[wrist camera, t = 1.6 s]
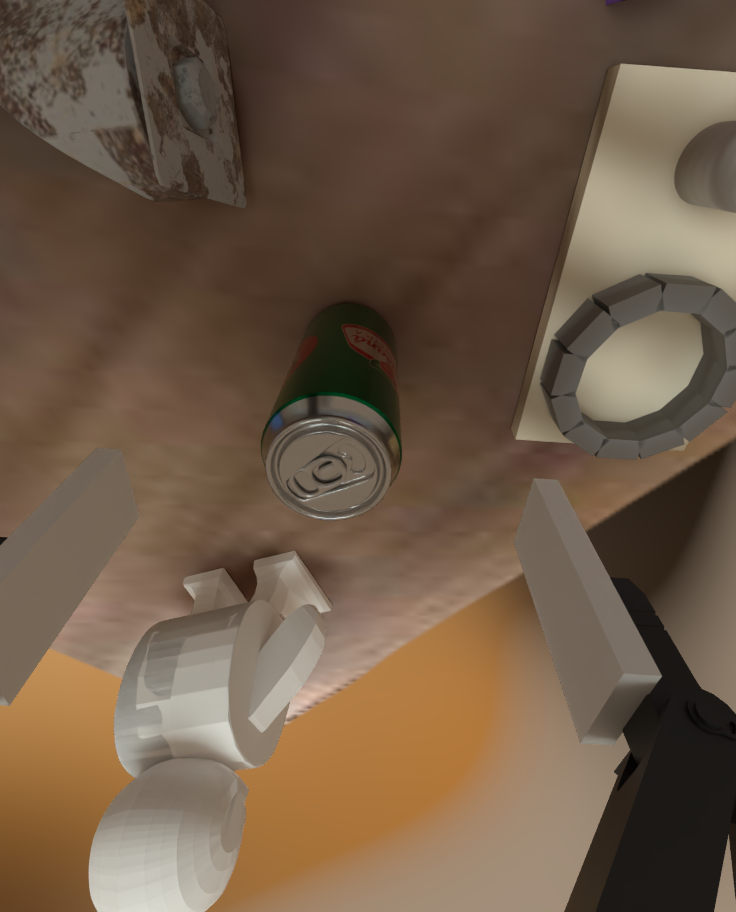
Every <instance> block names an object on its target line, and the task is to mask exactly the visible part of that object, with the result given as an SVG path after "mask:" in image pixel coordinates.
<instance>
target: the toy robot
mask: <svg viewBox="0 0 736 912" xmlns="http://www.w3.org/2000/svg"><path fill="white" fill-rule="evenodd" d="M253 570H254V572H255V574H256V577H257V587H256V590H255V594H254V596H253V597H252V599H251V600H250V601H249V602H248V601H247V600H246V599H245V597H244V596H243V594H242V593H241V591H240V590H239V589H238V587H237V586H236V584H235V583H234V582H233V580H232V579H231V577H230V576H229V574H228V573H227V572H226V570H225V569H224V568H220V569H216V570H212V571H208V572H204V573H199V574H195V575H191V576H187V577H185V579H184V581H183V586H184V587H185V588H186V590H187V591H188V592H189V594H190V595H191V596H192V598H193V599H194V600H195V601H194V606H193V608H192V611H191V614H190V615H188V616H183V617H179V618H174V619H170V620H165V621H161V622H159V623H157V624H155V625H153V626H152V627H151V628H150V629H149V630H148V631H147V632H146V633H145V634H144V636H143V637H142V639H141V640H140V642H139V643H138V645H137V647H136V648H135V650H134V652H133V655H132V657H131V659H130V661H129V663H128V666H127V668H126V671H125V674H124V677H123V680H122V683H121V686H120V690H119V694H118V699H117V704H116V709H115V717H114V735H115V746H116V751H117V754H118V757H119V760H120V762H121V764H122V765H123V767H124V768H125V770H126V771H127V772H128V773H129V774H130V775H132V776H133V777H135V778H136V779H134V780H133V781H132V782H131V783H129V784H128V785H127V786H126V787H125V788H124V789H123V790H122V791H121V792H120V793H119V794H118V795H117V796H116V797H115V799H114V800H113V801H112V802H111V804H110V805H109V807H108V808H107V810H106V812H105V814H104V815H103V817H102V819H101V821H100V823H99V825H98V828H97V830H96V833H95V836H94V839H93V843H92V848H91V853H90V861H89V887H90V894H91V898H92V901H93V903H94V906H95V908H96V909H97V911H98V912H204V911H206V910H207V909H208V908H209V907H210V906H211V905H212V904H214V902H216V900H217V899H218V898H219V897H220V896H221V894H222V893H223V891H224V889H225V887H226V885H227V883H228V881H229V879H230V876H231V874H232V872H233V869H234V867H235V863H236V860H237V857H238V853H239V849H240V845H241V840H242V832H243V827H244V824H245V820H246V808H245V800H246V797H247V794H248V791H249V789H248V787H247V786H246V785H245V783H244V782H243V781H242V780H241V778H240V777H239V776H238V775H237V774H236V773H235V772H234V771H236V770H243V769H250V768H257V767H260V766H262V765H264V764H265V763H266V762H267V761H268V760H269V758H270V757H271V756H272V754H273V752H274V750H275V748H276V746H277V743H278V741H279V738H280V735H281V732H282V729H283V726H284V722H285V718H286V715H287V711H288V708H289V704H290V700H291V699H292V698H293V697H294V696H295V695H296V693H297V692H298V691H299V690H300V689H301V687H302V686H303V685H304V683H305V682H306V680H307V678H308V677H309V675H310V673H311V672H312V670H313V669H314V667H315V665H316V663H317V661H318V659H319V657H320V655H321V653H322V650H323V647H324V644H325V641H326V626H325V621H324V619H323V617H322V616H321V614H320V613H322V612H327V611H331V609H332V604H331V603H330V601H329V600H328V598H327V597H326V595H325V594H324V592H323V591H322V589H321V588H320V586H319V585H318V584H317V582H316V581H315V579H314V578H313V576H312V575H311V573H310V572H309V570H308V569H307V567H306V566H305V564H304V563H303V562H302V560H301V559H300V557H299V556H298V554H297V553H296V551H291V552H287V553H283V554H279V555H275V556H270V557H266V558H262V559H258V560H254V566H253ZM281 614H282V615H283V616H284V618H285V620H284V621H283V620H282V618H281V617H280V615H281Z"/></svg>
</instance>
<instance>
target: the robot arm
mask: <svg viewBox="0 0 736 912" xmlns="http://www.w3.org/2000/svg"><path fill="white" fill-rule="evenodd" d="M138 517H139V513H138V510H137V506H136V502H135V499H134V495H133V491H132V488H131V484H130V480H129V476H128V473H127V469H126V465H125V462H124V458H123V454H122V451H121V450H120V449H106V448H96V449H95V450H94V451H93V452H92V453H91V454H90V455H89V456H88V457H87V459H86V460H85V461H84V462H83V463H82V464H81V465H80V466H79V467H78V468H77V469H76V470H75V471H74V472H73V473H72V474H71V475H70V476H69V477H68V478H67V479H66V480H65V481H64V482H63V483H62V484H61V485H60V486H59V487H58V488H57V489H56V490H55V491H54V492H53V493H52V494H51V495H50V496H49V497H48V498H47V499H46V500H45V501H44V502H43V503H42V504H41V505H40V506H39V507H38V508H37V509H36V510H35V511H34V512H33V513H32V514H31V515H30V516H29V517H28V518H27V519H26V520H25V521H24V522H23V523H22V524H21V525H20V526H19V527H18V528H17V529H16V530H15V531H14V532H13V533H12V534H11V535H10V536H9V537H8V538H7V537H0V705H10V704H11V703H12V701H13V700H14V698H15V697H16V695H17V694H18V692H19V691H20V690H21V688H22V687H23V685H24V684H25V682H26V681H27V679H28V678H29V676H30V675H31V673H32V672H33V671H34V669H35V668H36V666H37V665H38V663H39V662H40V660H41V659H42V657H43V656H44V654H45V653H46V651H47V650H48V649H49V647H50V646H51V644H52V643H53V641H54V640H55V638H56V637H57V636H58V634H59V633H60V631H61V630H62V628H63V627H64V625H65V624H66V622H67V621H68V619H69V618H70V617H71V615H72V614H73V612H74V611H75V609H76V608H77V606H78V605H79V603H80V602H81V601H82V599H83V598H84V596H85V595H86V593H87V592H88V590H89V589H90V587H91V586H92V584H93V583H94V582H95V580H96V579H97V577H98V576H99V574H100V573H101V571H102V570H103V568H104V567H105V566H106V564H107V563H108V561H109V560H110V558H111V557H112V555H113V554H114V552H115V551H116V549H117V548H118V547H119V545H120V544H121V542H122V541H123V539H124V538H125V536H126V535H127V533H128V532H129V531H130V529H131V528H132V526H133V525H134V523H135V522H136V520H137V519H138ZM514 545H515V548H516V551H517V554H518V557H519V560H520V563H521V566H522V569H523V572H524V575H525V578H526V581H527V584H528V587H529V589H530V593H531V595H532V599H533V602H534V605H535V608H536V611H537V614H538V617H539V620H540V623H541V626H542V629H543V632H544V635H545V638H546V641H547V644H548V647H549V650H550V653H551V656H552V659H553V662H554V665H555V668H556V671H557V674H558V677H559V680H560V683H561V686H562V689H563V692H564V695H565V698H566V701H567V704H568V707H569V710H570V713H571V716H572V719H573V722H574V725H575V728H576V731H577V734H578V738H579V741H580V743H587V744H602V745H614V744H615V742H616V741H617V739H618V738H619V737H620V735H621V734H622V732H623V733H624V736H625V738H626V740H627V743H628V745H629V748H630V751H629V752H628V754H627V755H626V756H625V758H624V759H623V761H622V762H621V763H620V764H619V766H618V767H617V769H616V770H615V771H614V772H615V773H616V774H617V775H618V777H617V779H616V782H615V784H614V787H613V790H612V792H611V795H610V797H609V800H608V802H607V805H606V807H605V810H604V812H603V815H602V818H601V820H600V822H599V825H598V828H597V830H596V833H595V835H594V838H593V840H592V843H591V845H590V848H589V850H588V853H587V855H586V858H585V861H584V863H583V866H582V868H581V871H580V873H579V876H578V878H577V881H576V883H575V886H574V888H573V891H572V893H571V896H570V899H569V902H568V904H567V906H566V909H565V911H564V912H714V908H715V903H716V898H717V893H718V887H719V882H720V877H721V871H722V865H723V860H724V854H725V850H726V845H727V839H728V834H729V841H730V850H731V860H732V869H733V879H734V888H735V898H736V714H735V713H734V712H733V711H732V709H731V708H730V707H729V706H728V705H727V704H726V703H724V702H723V701H722V700H720V699H719V698H718V697H716V696H715V695H714V694H712V693H709V692H707V691H705V690H703V689H701V687H700V686H699V685H698V683H697V681H696V680H695V678H694V676H693V675H692V673H691V671H690V670H689V668H688V666H687V664H686V663H685V661H684V660H683V658H682V656H681V655H680V653H679V651H678V649H677V648H676V646H675V644H674V643H673V641H672V639H671V637H670V636H669V634H668V632H667V631H666V630H664V626H663V624H662V622H661V621H660V619H659V617H658V616H656V615H655V610H654V609H653V607H652V605H651V604H650V602H649V601H648V599H647V597H646V595H645V594H644V593H643V592H642V591H641V590H640V589H639V588H638V587H637V586H636V585H634V584H633V583H632V582H631V581H630V580H629V579H626V578H610V577H609V576H608V574H607V572H606V570H605V568H604V566H603V564H602V562H601V560H600V559H599V557H598V555H597V553H596V551H595V549H594V547H593V545H592V543H591V542H590V540H589V538H588V536H587V534H586V532H585V530H584V528H583V526H582V525H581V523H580V521H579V519H578V517H577V515H576V513H575V511H574V510H573V508H572V506H571V504H570V502H569V500H568V498H567V496H566V494H565V493H564V491H563V489H562V487H561V485H560V483H559V481H558V480H553V479H538V478H534V479H533V482H532V485H531V489H530V492H529V495H528V498H527V501H526V504H525V508H524V511H523V514H522V517H521V520H520V523H519V527H518V530H517V533H516V536H515V539H514Z"/></svg>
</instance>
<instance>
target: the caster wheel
mask: <svg viewBox="0 0 736 912" xmlns="http://www.w3.org/2000/svg"><path fill="white" fill-rule="evenodd" d="M0 105H1V106H2V108H4V109H5V110H6V111H7V112H8V113H9V114H10V115H12V116H13V117H14V118H15V119H16V120H17V121H19V122H20V123H21V124H22V125H24V126H25V127H26V128H28V129H29V130H30V131H32V132H33V133H35V134H36V135H37V136H39V137H40V138H42V139H43V140H45V141H46V142H48V143H49V144H51V145H52V146H54V147H55V148H57V149H58V150H60V151H62V152H63V153H65V154H67V155H68V156H70V157H72V158H74V159H75V160H77V161H79V162H80V163H82V164H84V165H86V166H88V167H89V168H91V169H93V170H95V171H97V172H99V173H101V174H102V175H104V176H106V177H108V178H110V179H112V180H114V181H116V182H117V183H119V184H121V185H123V186H125V187H126V188H128V189H130V190H132V191H134V192H135V193H137V194H139V195H141V196H143V197H145V198H147V199H149V200H152V201H155V202H169V201H180V200H191V199H200V198H207V199H211V200H214V201H218V202H221V203H225V204H229V205H232V206H236V207H239V208H243V209H244V208H245V207H246V206H247V203H246V194H245V186H244V178H243V169H242V161H241V153H240V145H239V137H238V128H237V120H236V112H235V104H234V96H233V87H232V79H231V71H230V63H229V55H228V46H227V38H226V31H225V27H224V24H223V20H222V19H221V18H220V17H219V16H218V15H217V14H216V13H215V12H214V11H213V10H212V9H211V8H210V7H209V6H208V5H207V4H206V2H205V1H204V0H0Z"/></svg>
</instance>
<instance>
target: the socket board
mask: <svg viewBox="0 0 736 912" xmlns="http://www.w3.org/2000/svg"><path fill="white" fill-rule="evenodd" d="M735 400H736V72H725V71H712V70H698V69H685V68H672V67H659V66H646V65H632V64H618V65H616V66H613V67H610V68H608V71H607V75H606V78H605V82H604V86H603V90H602V93H601V97H600V101H599V104H598V108H597V112H596V115H595V119H594V123H593V127H592V130H591V134H590V138H589V141H588V145H587V149H586V152H585V156H584V160H583V164H582V167H581V171H580V175H579V178H578V182H577V186H576V189H575V193H574V197H573V201H572V204H571V208H570V212H569V215H568V219H567V223H566V226H565V230H564V234H563V238H562V241H561V245H560V249H559V252H558V256H557V260H556V264H555V267H554V271H553V275H552V278H551V282H550V286H549V289H548V293H547V297H546V301H545V304H544V308H543V312H542V315H541V319H540V323H539V326H538V330H537V334H536V338H535V341H534V345H533V349H532V352H531V356H530V360H529V363H528V367H527V371H526V375H525V378H524V382H523V386H522V389H521V393H520V397H519V400H518V404H517V408H516V412H515V415H514V419H513V423H512V426H511V431H512V433H513V435H514V437H515V439H518V440H533V441H547V442H562V443H574V444H576V445H577V446H579V447H580V448H582V449H583V450H585V451H586V452H588V453H589V454H590V455H592V456H593V455H594V454H595V456H596V457H602V458H617V459H632V460H636V459H637V457H638V456H639V457H640V458H641V459H643V458H646V457H649V456H652V455H655V454H658V453H661V452H664V451H667V450H679V451H684V450H685V448H686V446H687V444H688V442H690V441H691V440H692V439H694V438H695V437H696V436H698V435H699V434H700V433H701V432H703V431H704V430H705V429H706V428H708V427H709V426H710V425H711V424H713V423H714V422H715V421H716V420H718V419H719V418H720V417H722V416H723V415H724V414H725V413H727V411H726V410H725V409H723V408H722V407H729V408H731V407H732V405H733V403H734V402H735Z"/></svg>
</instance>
